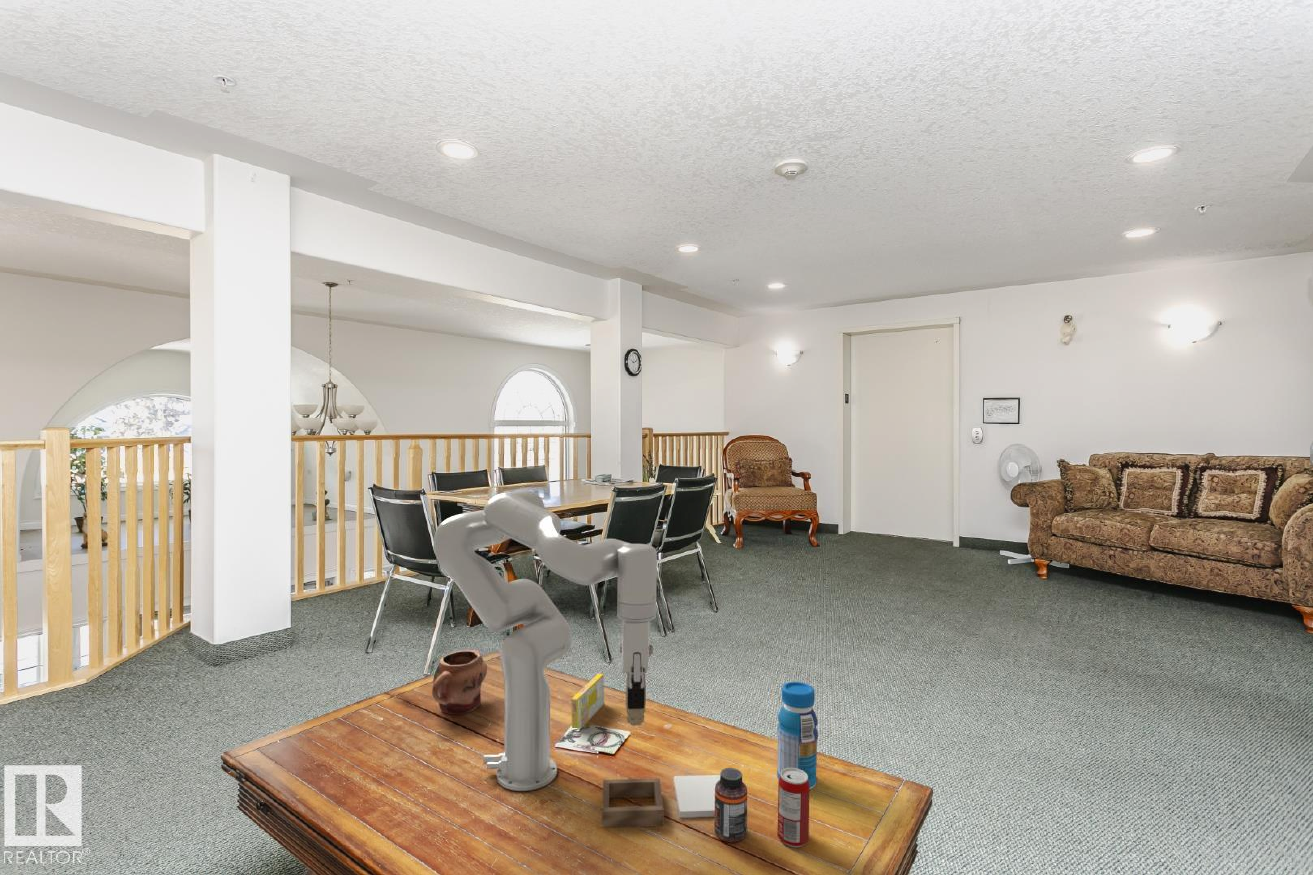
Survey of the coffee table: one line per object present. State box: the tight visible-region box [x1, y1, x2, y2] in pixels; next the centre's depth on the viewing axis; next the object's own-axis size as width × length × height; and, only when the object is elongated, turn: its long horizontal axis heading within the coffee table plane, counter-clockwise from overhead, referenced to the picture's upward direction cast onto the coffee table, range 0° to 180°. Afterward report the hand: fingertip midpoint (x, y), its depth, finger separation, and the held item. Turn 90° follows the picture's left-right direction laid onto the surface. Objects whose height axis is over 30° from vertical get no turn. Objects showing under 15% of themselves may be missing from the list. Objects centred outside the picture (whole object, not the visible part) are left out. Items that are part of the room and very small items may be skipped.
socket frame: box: [601, 777, 665, 828], centre depth 122 cm, size 11×10×3 cm
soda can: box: [777, 768, 811, 848], centre depth 114 cm, size 6×6×12 cm
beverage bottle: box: [776, 681, 819, 790], centre depth 133 cm, size 8×8×20 cm
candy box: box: [570, 673, 605, 729], centre depth 161 cm, size 16×2×8 cm, turn 162°
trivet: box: [673, 774, 720, 819], centre depth 126 cm, size 12×12×1 cm
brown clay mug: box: [431, 649, 488, 715], centre depth 163 cm, size 20×12×14 cm, turn 168°
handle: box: [619, 643, 654, 727], centre depth 122 cm, size 5×6×15 cm
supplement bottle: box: [713, 767, 748, 843], centre depth 116 cm, size 6×6×11 cm
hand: (635, 701), depth 122 cm, fingers closed on handle, 4 cm apart
